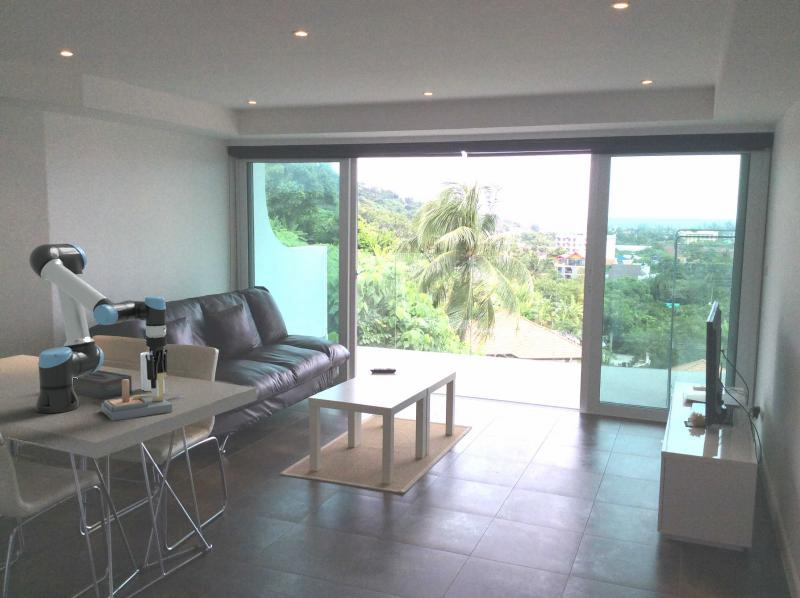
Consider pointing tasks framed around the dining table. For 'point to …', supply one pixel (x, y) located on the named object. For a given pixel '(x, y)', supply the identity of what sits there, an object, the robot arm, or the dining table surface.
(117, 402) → the cover
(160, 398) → the key
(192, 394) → the dining table surface
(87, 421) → the dining table surface
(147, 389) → the cup
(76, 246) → the robot arm
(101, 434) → the dining table surface
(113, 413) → the housing
